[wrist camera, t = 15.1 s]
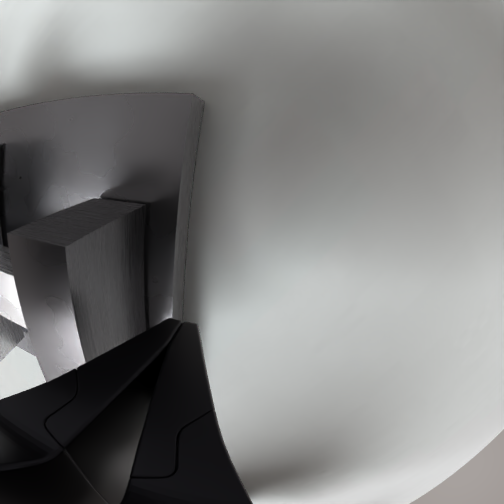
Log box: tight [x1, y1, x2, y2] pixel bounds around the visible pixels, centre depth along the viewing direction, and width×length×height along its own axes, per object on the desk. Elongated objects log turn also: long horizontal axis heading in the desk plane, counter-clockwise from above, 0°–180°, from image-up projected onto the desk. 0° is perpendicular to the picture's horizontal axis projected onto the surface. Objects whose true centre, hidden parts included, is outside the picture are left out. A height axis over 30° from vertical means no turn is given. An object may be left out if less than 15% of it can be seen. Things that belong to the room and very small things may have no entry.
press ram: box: [0, 198, 146, 382], centre depth 7 cm, size 12×10×4 cm
